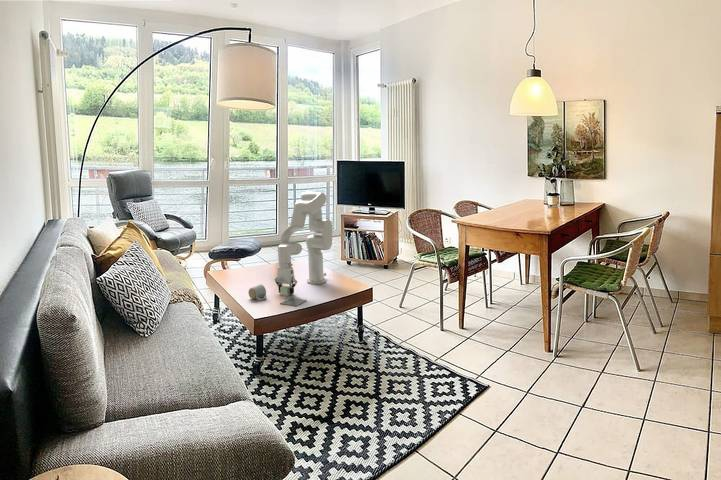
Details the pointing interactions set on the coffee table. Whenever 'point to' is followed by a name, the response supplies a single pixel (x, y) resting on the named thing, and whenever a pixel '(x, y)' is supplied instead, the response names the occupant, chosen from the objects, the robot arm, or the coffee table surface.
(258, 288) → the ceramic mug
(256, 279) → the coffee table surface
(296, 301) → the coaster
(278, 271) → the robot arm
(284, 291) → the cube
